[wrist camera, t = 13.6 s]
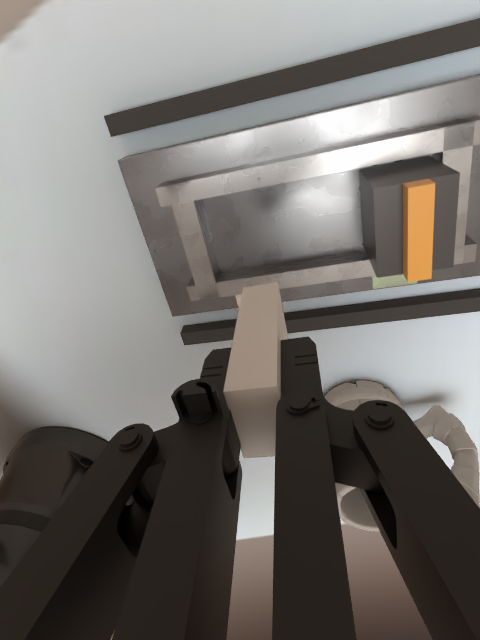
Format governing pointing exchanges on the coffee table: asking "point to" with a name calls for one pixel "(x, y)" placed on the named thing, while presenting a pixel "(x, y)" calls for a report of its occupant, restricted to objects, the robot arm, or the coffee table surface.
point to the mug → (430, 424)
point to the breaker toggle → (409, 217)
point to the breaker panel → (298, 198)
